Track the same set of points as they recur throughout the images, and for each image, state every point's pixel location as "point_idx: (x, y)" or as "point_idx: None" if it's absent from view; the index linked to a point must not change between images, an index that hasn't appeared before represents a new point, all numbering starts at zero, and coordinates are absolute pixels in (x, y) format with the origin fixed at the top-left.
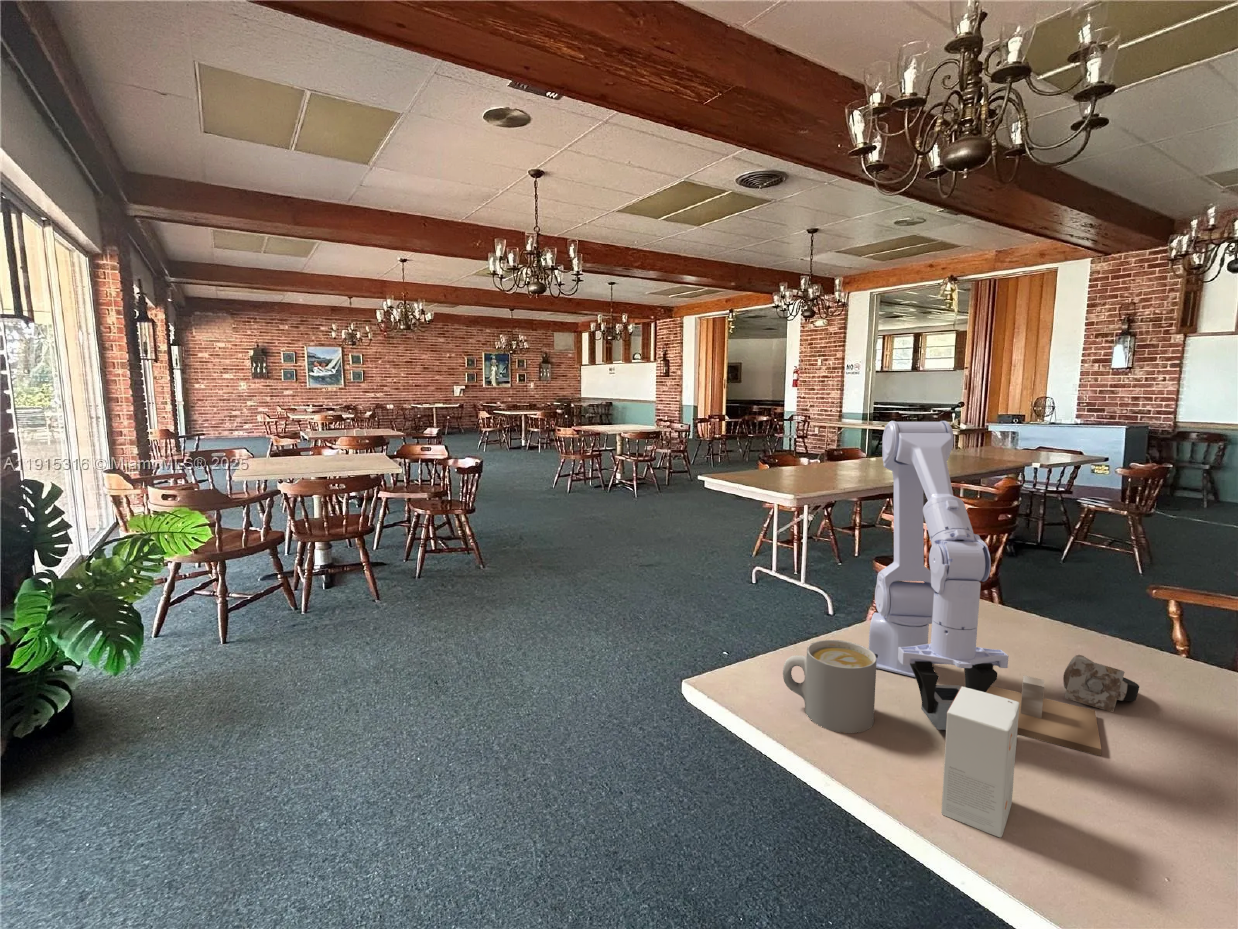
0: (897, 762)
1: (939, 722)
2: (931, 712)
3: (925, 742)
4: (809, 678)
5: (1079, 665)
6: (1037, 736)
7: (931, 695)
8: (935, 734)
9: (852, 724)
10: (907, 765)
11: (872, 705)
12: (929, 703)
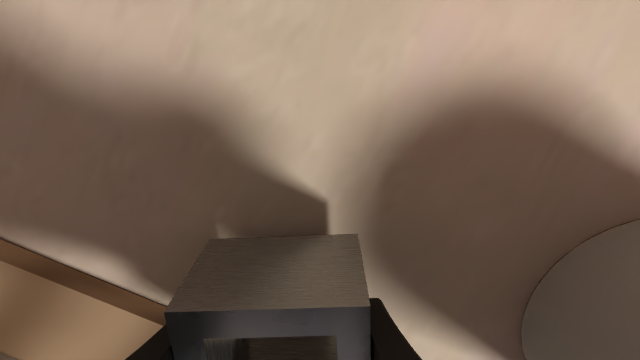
0: (577, 43)
1: (350, 249)
2: None
3: (404, 188)
4: None
5: None
6: (5, 250)
7: (393, 356)
8: None
9: None
10: (547, 26)
11: (619, 319)
12: (391, 324)
